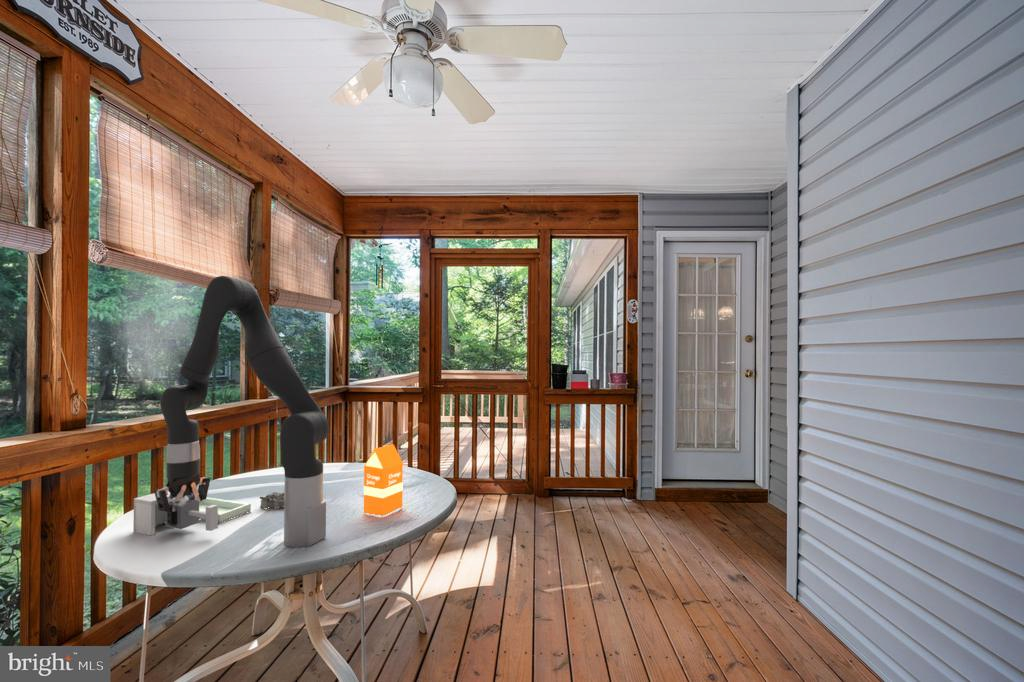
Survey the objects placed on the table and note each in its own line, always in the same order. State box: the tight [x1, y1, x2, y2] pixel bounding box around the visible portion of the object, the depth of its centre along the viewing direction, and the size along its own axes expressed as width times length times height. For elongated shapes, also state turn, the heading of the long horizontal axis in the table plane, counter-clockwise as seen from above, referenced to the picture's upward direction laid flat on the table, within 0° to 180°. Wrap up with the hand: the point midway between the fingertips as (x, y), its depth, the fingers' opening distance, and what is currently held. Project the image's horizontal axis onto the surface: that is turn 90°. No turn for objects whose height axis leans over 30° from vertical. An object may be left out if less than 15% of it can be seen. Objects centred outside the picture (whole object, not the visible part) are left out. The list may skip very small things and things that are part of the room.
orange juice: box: [363, 443, 404, 516], centre depth 143 cm, size 8×9×20 cm
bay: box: [132, 491, 186, 536], centre depth 130 cm, size 7×9×9 cm
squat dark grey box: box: [164, 498, 219, 532], centre depth 126 cm, size 15×5×6 cm, turn 70°
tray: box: [199, 496, 252, 524], centre depth 142 cm, size 20×10×2 cm, turn 70°
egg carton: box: [259, 491, 284, 509], centre depth 150 cm, size 11×8×4 cm
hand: (183, 521), depth 127 cm, fingers closed on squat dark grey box, 5 cm apart
